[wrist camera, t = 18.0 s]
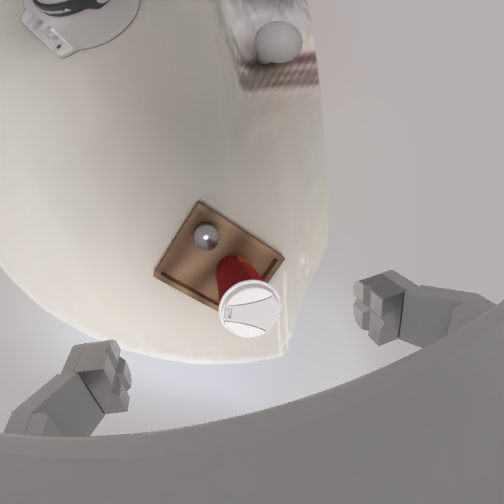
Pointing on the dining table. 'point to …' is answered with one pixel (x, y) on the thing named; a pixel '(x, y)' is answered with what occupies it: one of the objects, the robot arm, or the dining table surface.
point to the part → (206, 236)
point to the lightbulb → (277, 42)
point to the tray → (211, 257)
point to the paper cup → (245, 298)
